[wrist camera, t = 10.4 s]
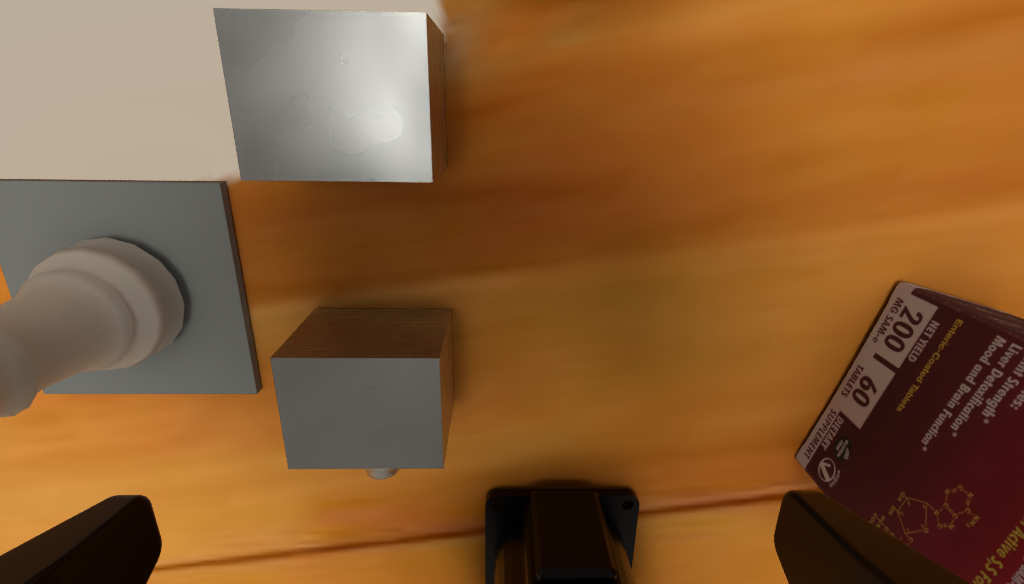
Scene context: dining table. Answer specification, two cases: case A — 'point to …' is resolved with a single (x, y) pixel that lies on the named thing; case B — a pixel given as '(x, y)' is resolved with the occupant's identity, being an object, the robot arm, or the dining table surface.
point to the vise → (356, 158)
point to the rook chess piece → (85, 317)
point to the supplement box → (933, 434)
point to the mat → (169, 238)
